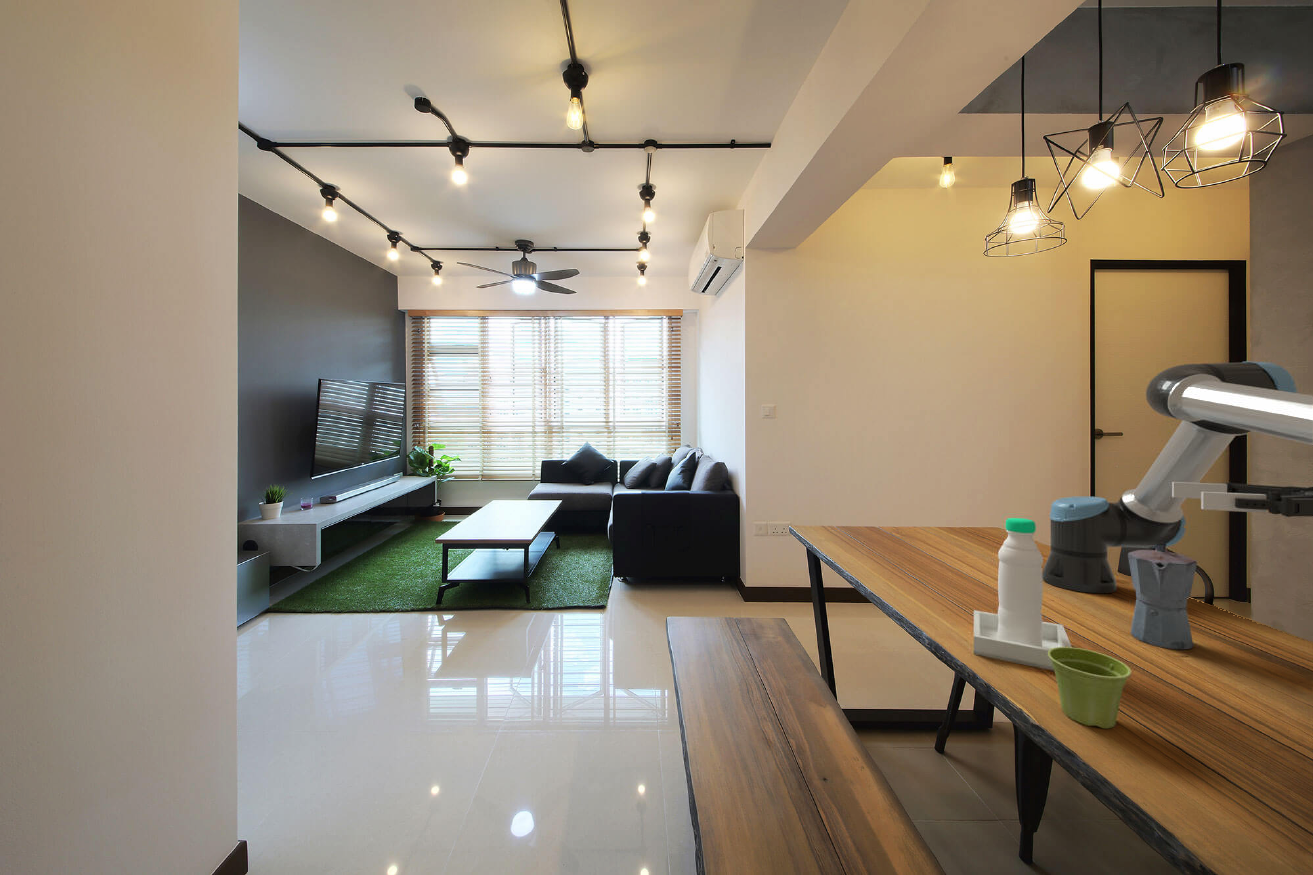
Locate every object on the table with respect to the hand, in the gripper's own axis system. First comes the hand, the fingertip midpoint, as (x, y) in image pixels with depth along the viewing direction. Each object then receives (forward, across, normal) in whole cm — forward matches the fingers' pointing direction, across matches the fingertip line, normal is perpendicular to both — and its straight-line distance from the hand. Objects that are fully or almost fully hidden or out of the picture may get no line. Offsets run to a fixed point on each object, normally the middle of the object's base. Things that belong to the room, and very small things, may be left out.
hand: (1186, 494), depth 82 cm
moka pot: (-1, +19, -32) cm, 37 cm away
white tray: (+23, 0, -32) cm, 39 cm away
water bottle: (+23, 0, -32) cm, 39 cm away
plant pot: (+16, -22, -32) cm, 42 cm away
